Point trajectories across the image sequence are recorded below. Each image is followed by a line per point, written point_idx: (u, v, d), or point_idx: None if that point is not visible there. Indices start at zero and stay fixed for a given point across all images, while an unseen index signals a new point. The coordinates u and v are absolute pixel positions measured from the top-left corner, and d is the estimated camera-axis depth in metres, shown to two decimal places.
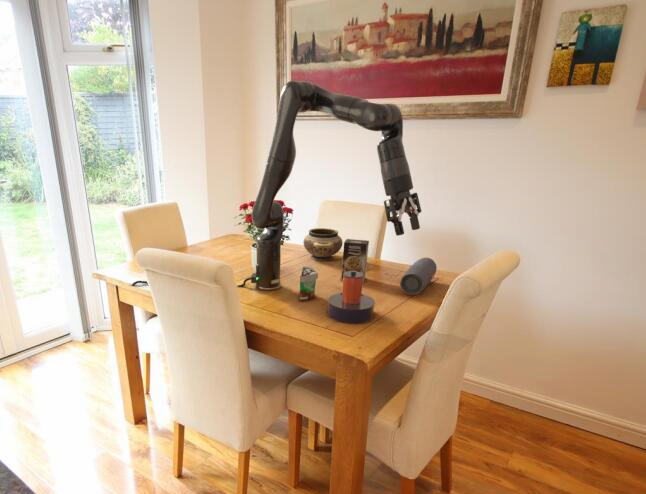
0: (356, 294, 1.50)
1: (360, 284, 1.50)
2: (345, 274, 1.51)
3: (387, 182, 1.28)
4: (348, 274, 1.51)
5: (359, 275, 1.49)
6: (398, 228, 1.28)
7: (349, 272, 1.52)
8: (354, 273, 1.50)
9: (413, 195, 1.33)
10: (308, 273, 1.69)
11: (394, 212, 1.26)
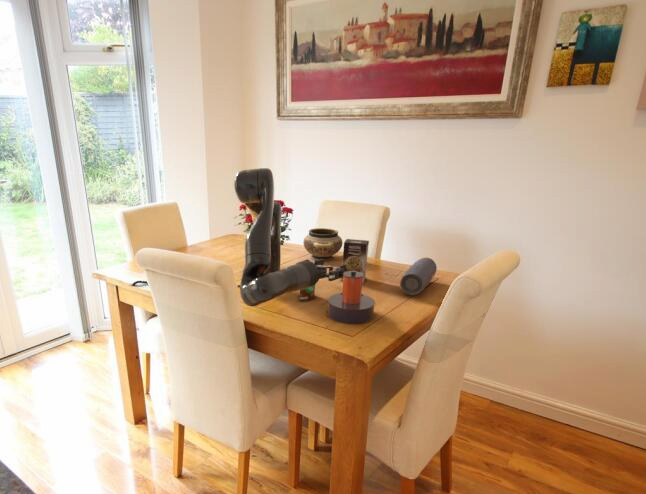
0: (356, 294, 1.50)
1: (360, 284, 1.50)
2: (345, 274, 1.51)
3: None
4: (348, 274, 1.51)
5: (359, 275, 1.49)
6: None
7: (349, 272, 1.52)
8: (354, 273, 1.50)
9: None
10: None
11: None
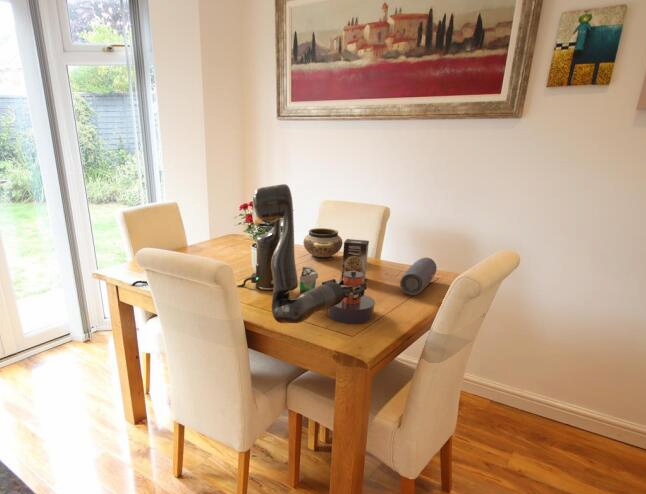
0: None
1: None
2: (345, 274, 1.51)
3: None
4: (348, 274, 1.51)
5: (359, 275, 1.49)
6: None
7: (349, 272, 1.52)
8: (354, 273, 1.50)
9: None
10: (308, 273, 1.69)
11: None
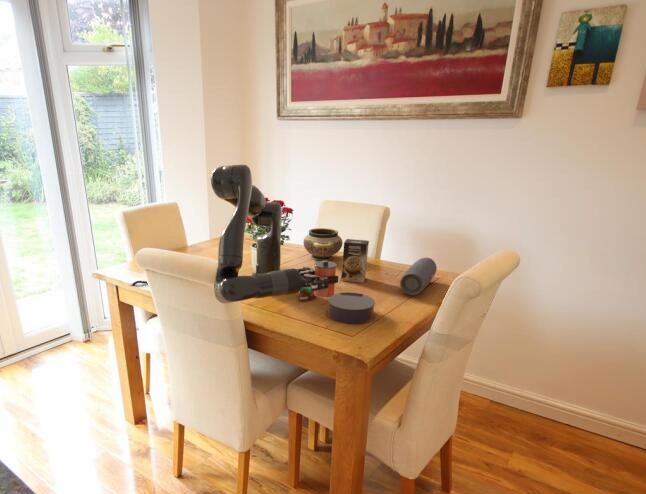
0: None
1: None
2: (316, 263, 1.38)
3: None
4: (320, 263, 1.38)
5: (330, 266, 1.36)
6: None
7: None
8: (325, 263, 1.37)
9: None
10: None
11: None
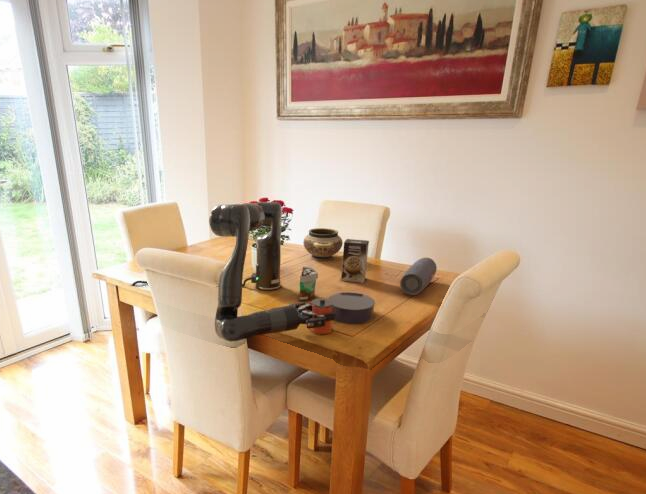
0: None
1: None
2: (314, 301, 1.43)
3: None
4: (317, 301, 1.43)
5: (326, 304, 1.40)
6: None
7: None
8: (322, 301, 1.41)
9: None
10: (308, 273, 1.69)
11: None
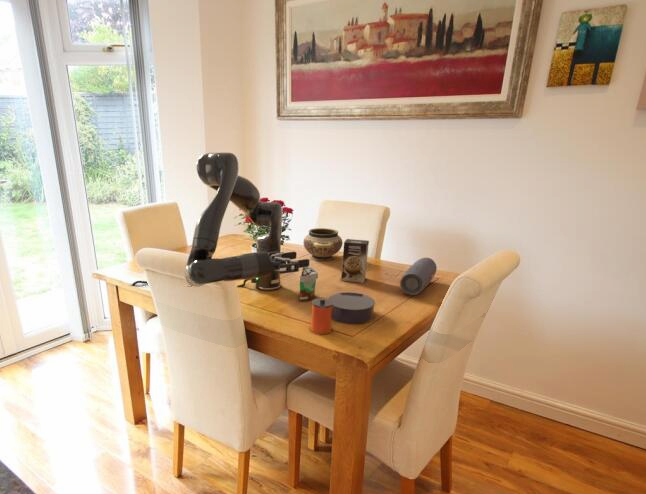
0: (321, 324, 1.42)
1: (326, 314, 1.41)
2: (314, 301, 1.43)
3: None
4: (317, 301, 1.43)
5: (326, 304, 1.40)
6: None
7: None
8: (322, 301, 1.41)
9: None
10: (308, 273, 1.69)
11: None
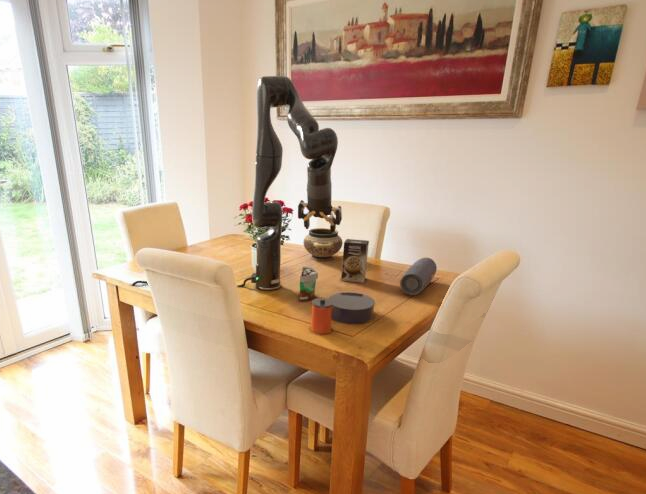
0: (321, 324, 1.42)
1: (326, 314, 1.41)
2: (314, 301, 1.43)
3: None
4: (317, 301, 1.43)
5: (326, 304, 1.40)
6: (304, 223, 1.56)
7: None
8: (322, 301, 1.41)
9: (335, 211, 1.46)
10: (308, 273, 1.69)
11: (299, 213, 1.53)
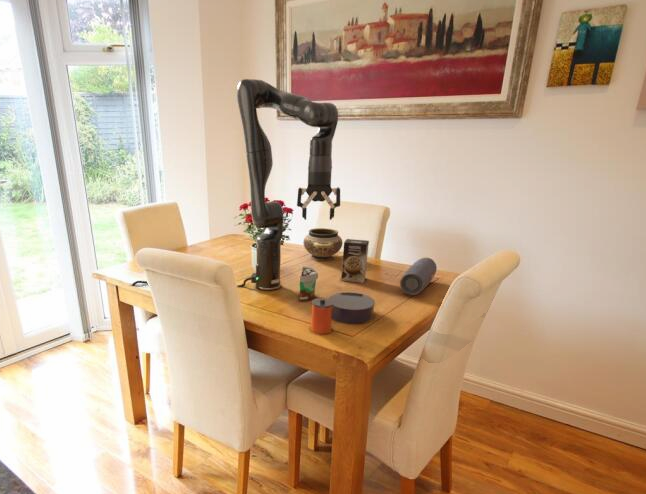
0: (321, 324, 1.42)
1: (326, 314, 1.41)
2: (314, 301, 1.43)
3: None
4: (317, 301, 1.43)
5: (326, 304, 1.40)
6: (302, 213, 1.56)
7: None
8: (322, 301, 1.41)
9: (336, 190, 1.51)
10: (308, 273, 1.69)
11: (298, 200, 1.53)
